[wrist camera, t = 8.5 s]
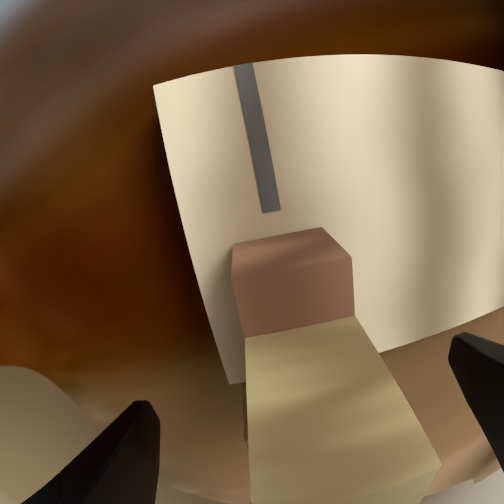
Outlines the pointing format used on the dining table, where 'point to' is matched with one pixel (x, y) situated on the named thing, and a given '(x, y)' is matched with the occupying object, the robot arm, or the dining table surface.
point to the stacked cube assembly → (319, 383)
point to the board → (346, 182)
